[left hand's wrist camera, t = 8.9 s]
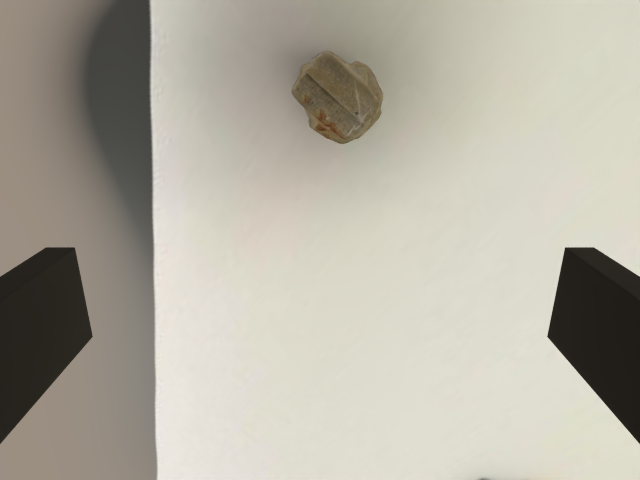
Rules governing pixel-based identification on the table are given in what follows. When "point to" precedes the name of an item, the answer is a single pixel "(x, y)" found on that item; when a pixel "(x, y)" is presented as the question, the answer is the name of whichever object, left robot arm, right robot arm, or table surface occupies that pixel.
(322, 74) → the sculpture
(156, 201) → the table surface
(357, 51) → the table surface
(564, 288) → the left robot arm
